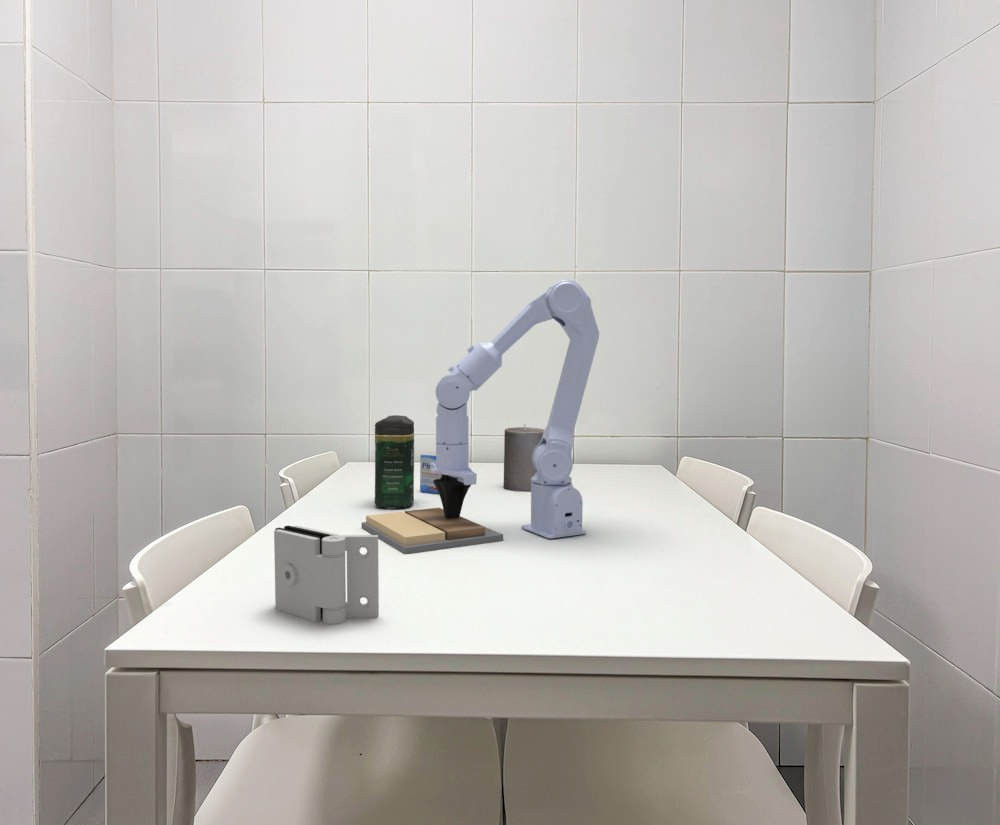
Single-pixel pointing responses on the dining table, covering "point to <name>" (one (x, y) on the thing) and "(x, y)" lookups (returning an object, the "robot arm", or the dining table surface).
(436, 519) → the walnut plank
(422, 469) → the medicine box
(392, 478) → the coffee jar
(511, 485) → the pillar candle
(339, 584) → the hinge
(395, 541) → the base board
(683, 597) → the dining table surface
